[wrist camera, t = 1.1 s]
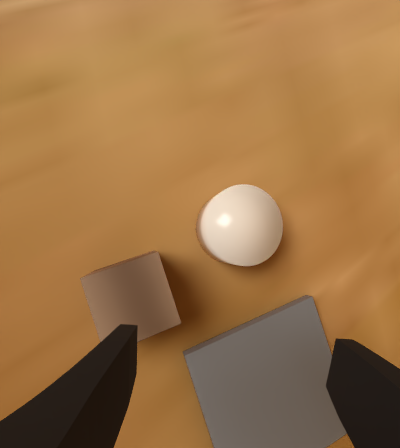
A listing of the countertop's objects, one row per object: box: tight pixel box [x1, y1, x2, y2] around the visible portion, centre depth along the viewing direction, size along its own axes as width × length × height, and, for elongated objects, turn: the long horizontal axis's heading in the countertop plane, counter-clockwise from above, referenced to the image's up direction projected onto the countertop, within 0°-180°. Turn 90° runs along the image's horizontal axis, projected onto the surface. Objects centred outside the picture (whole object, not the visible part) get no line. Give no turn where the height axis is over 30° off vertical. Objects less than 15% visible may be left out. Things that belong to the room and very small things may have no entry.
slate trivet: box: [183, 295, 347, 448], centre depth 21 cm, size 12×12×1 cm
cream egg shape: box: [196, 184, 283, 266], centre depth 20 cm, size 6×6×4 cm
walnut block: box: [80, 251, 181, 342], centre depth 17 cm, size 4×4×5 cm
